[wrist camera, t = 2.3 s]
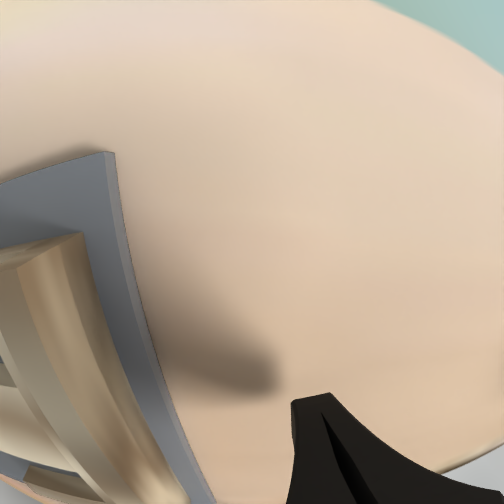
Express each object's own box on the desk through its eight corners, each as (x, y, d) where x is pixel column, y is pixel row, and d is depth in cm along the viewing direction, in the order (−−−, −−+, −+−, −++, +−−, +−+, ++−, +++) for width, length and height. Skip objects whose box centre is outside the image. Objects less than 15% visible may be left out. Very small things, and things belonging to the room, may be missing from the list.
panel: (190, 499, 11) (190, 548, 8) (41, 478, 10) (28, 513, 7) (83, 231, 7) (16, 268, 4) (-76, 267, 7) (-119, 292, 3)
